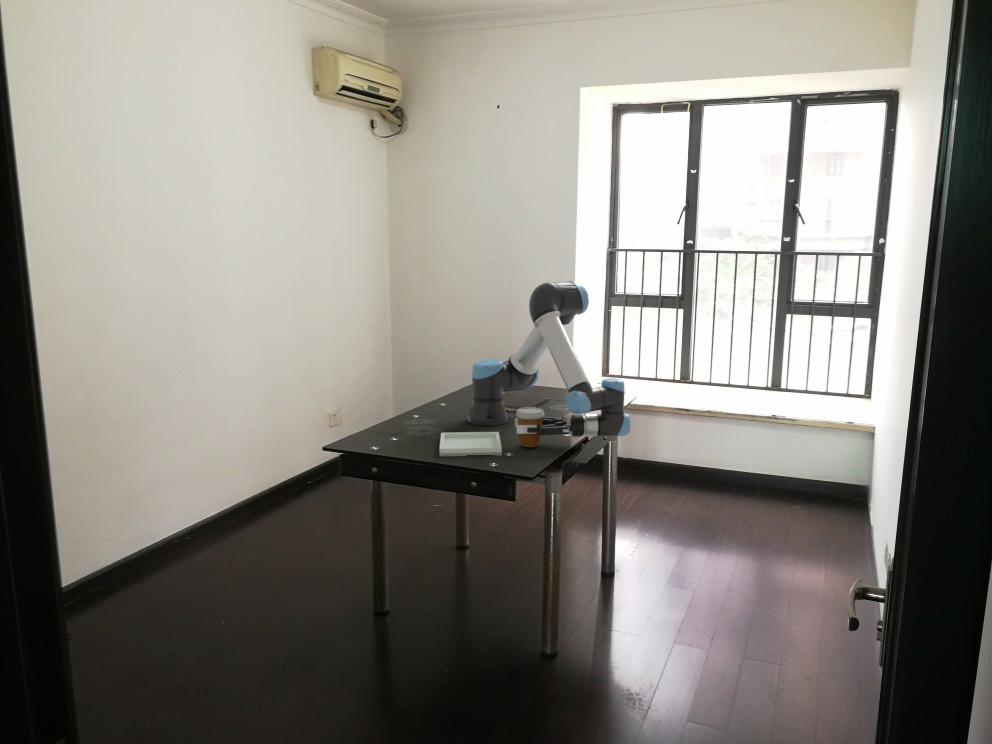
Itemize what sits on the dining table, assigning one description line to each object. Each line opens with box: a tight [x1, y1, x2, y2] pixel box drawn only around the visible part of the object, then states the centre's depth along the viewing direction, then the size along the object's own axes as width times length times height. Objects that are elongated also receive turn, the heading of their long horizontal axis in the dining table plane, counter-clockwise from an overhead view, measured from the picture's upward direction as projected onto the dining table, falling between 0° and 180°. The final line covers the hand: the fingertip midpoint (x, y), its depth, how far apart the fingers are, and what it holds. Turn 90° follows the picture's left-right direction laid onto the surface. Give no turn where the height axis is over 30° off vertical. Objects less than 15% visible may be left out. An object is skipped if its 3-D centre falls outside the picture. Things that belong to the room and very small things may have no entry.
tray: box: [439, 431, 503, 457], centre depth 252 cm, size 20×20×2 cm
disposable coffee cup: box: [515, 407, 545, 448], centre depth 252 cm, size 10×10×12 cm
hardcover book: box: [503, 394, 550, 413], centre depth 314 cm, size 16×23×2 cm
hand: (515, 426), depth 251 cm, fingers closed on disposable coffee cup, 8 cm apart
